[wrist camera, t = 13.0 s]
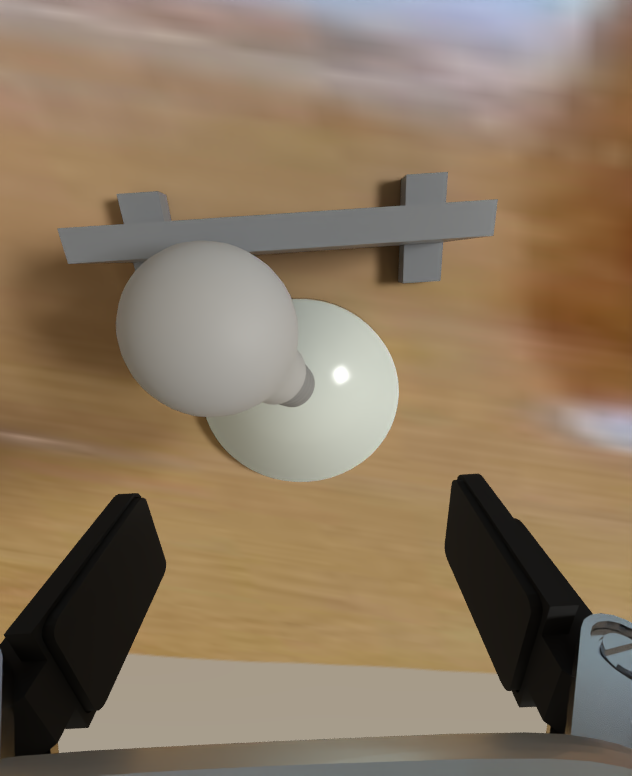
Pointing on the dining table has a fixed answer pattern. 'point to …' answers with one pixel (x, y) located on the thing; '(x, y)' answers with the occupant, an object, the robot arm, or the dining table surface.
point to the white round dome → (321, 403)
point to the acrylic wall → (296, 229)
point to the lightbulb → (211, 331)
